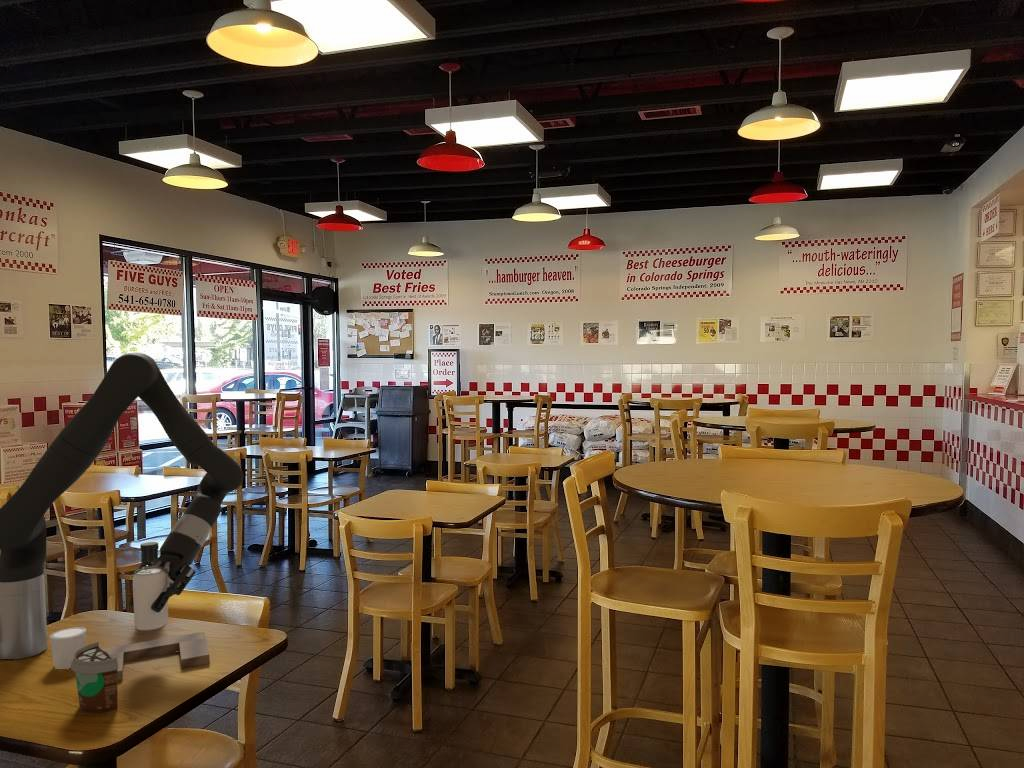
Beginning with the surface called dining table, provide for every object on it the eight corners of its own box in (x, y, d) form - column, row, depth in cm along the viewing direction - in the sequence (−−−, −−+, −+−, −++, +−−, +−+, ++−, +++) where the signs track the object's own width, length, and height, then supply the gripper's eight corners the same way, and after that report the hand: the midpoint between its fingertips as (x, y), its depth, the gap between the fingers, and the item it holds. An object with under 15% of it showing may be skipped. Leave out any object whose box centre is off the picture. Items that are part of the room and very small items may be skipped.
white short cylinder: (76, 655, 165) (75, 624, 164) (94, 661, 161) (93, 630, 161) (44, 667, 159) (42, 635, 159) (61, 673, 155) (60, 640, 155)
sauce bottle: (154, 628, 180) (151, 547, 180) (131, 627, 181) (127, 546, 181) (171, 619, 187) (168, 540, 186) (148, 618, 188) (145, 540, 187)
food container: (64, 701, 143) (62, 650, 142) (99, 690, 147) (97, 640, 147) (83, 723, 134) (80, 668, 133) (120, 711, 138) (117, 658, 138)
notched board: (91, 685, 149) (91, 675, 149) (96, 658, 163) (95, 649, 163) (209, 663, 159) (209, 654, 159) (204, 640, 172) (204, 631, 172)
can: (155, 632, 155) (152, 575, 154) (127, 630, 156) (125, 574, 156) (175, 620, 161) (172, 566, 161) (148, 619, 163) (146, 565, 162)
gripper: (152, 528, 168) (107, 596, 157) (200, 532, 162) (156, 604, 152) (173, 545, 173) (131, 613, 162) (219, 550, 167) (179, 621, 157)
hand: (143, 608), depth 157 cm, fingers closed on can, 6 cm apart
